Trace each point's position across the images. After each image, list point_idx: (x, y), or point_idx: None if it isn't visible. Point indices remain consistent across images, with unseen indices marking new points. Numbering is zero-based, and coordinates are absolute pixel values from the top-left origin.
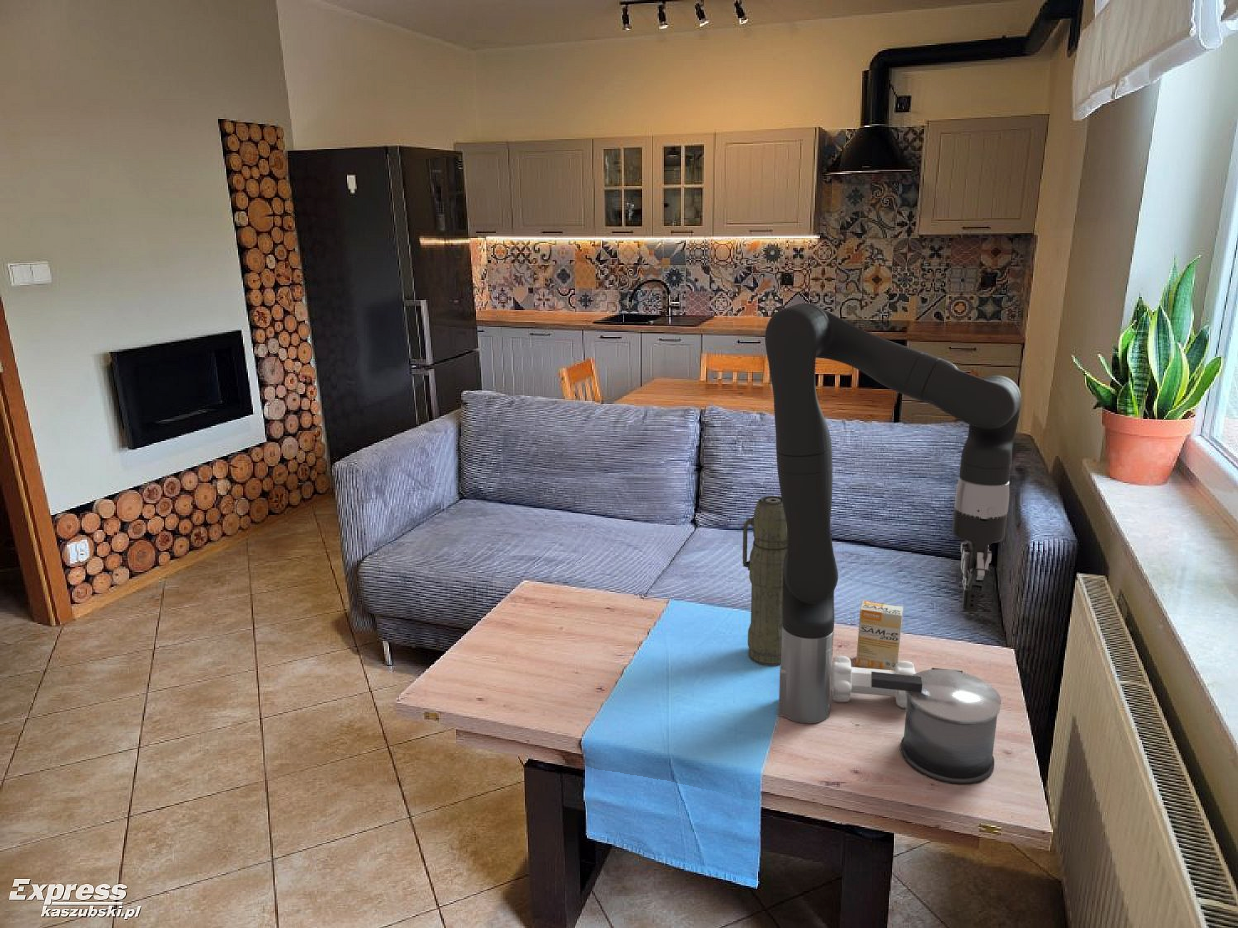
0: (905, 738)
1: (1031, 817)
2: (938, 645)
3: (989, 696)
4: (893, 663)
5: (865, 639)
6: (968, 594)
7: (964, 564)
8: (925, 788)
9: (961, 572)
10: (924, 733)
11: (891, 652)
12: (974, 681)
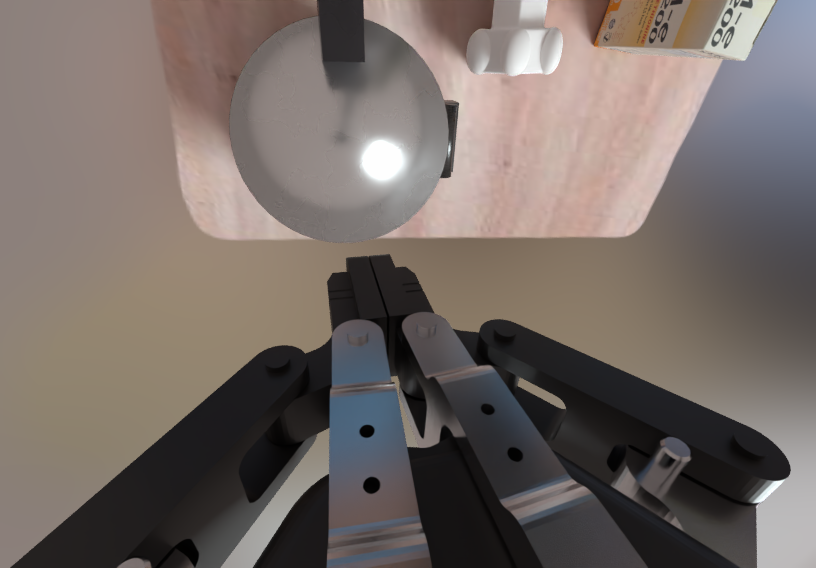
0: None
1: (213, 229)
2: (667, 141)
3: (348, 223)
4: (608, 37)
5: None
6: (333, 326)
7: (341, 492)
8: (214, 62)
9: (507, 334)
10: None
11: (629, 29)
12: (405, 198)
